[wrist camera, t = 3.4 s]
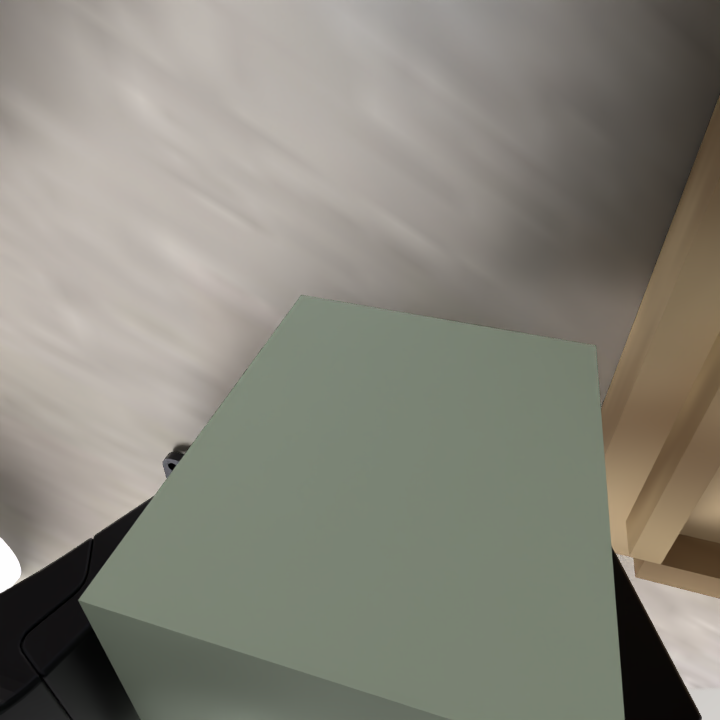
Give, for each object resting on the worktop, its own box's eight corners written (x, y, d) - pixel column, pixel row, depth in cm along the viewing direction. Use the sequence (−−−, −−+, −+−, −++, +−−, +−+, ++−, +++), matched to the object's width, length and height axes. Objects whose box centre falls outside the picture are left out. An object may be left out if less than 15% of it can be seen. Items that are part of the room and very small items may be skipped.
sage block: (531, 535, 12) (510, 908, 7) (310, 481, 13) (171, 779, 8) (596, 346, 9) (628, 775, 4) (300, 294, 10) (77, 600, 5)
